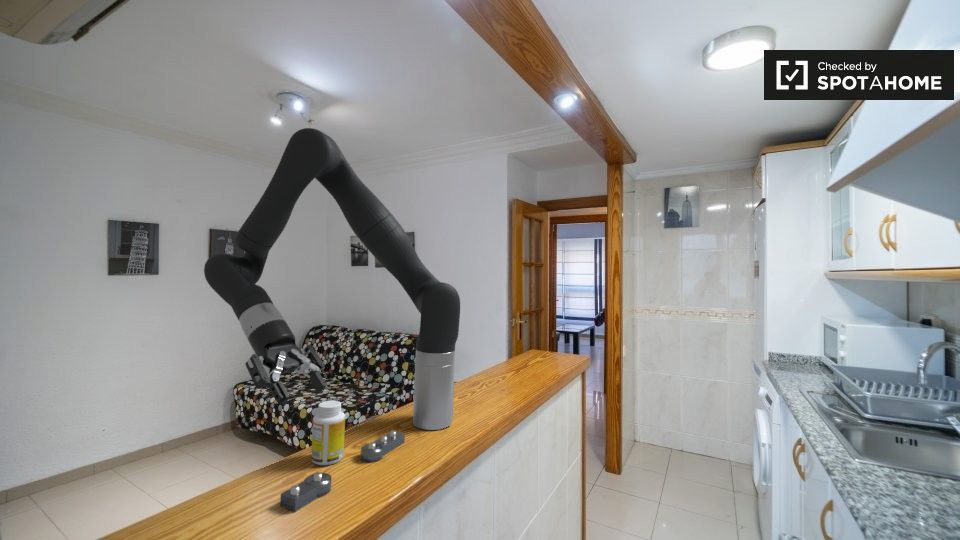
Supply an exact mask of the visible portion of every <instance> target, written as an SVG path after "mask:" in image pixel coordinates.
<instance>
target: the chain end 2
mask: <svg viewBox="0 0 960 540" xmlns="http://www.w3.org/2000/svg"><path fill="white" fill-rule="evenodd" d="M405 436H406V433H403V432H399V431H397V430H390V432H388V433H386V434H385V435H381V436H380V438H377V439H375V440H374V441H371V442H369V443H366V444H365V445H362V446H361V448H360V460H361V461H362V463H363V462H364V463H376V462H379V461H381V460H382V459H383V458H384V456H386V455H387V454H388V453H390V452H392V451H393V450H394V449H397V448H398V447H399V446H401V445H403V444H405V442H406V441H405V439H406V438H405Z"/></svg>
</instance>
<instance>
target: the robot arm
mask: <svg viewBox="0 0 960 540" xmlns="http://www.w3.org/2000/svg"><path fill="white" fill-rule="evenodd" d="M314 179H315V180H317V181H318V183H320V185H322V186H323V188H324V189H325V190H326V191H327V192H328V193H329V194H330V195H331V196H332V198H333V199H334V200H335V202H336V203H337V205H338V207H339V209H340V210H341V212H342V214H343V216H344V218H345V219H346V222H347V223H348V225H349V227H350V229H351V230H352V232H353V233H354V234H355V236H356V237H357V238H358V239H359V241H360V242H361V243H362V245H364V247H365V248H366V249H367V250H368V251H369V253H370V254H372V256H373V257H374V258H375V259H376V261H378V262H379V263H380V264H381V266H383V267H384V268H385V269H386V270H387V272H389V273H390V274H391V276H393V278H395V279H396V280H397V282H398V283H399V284H400V286H402V288H403V290H404V291H405V293H406V294H407V296H408V297H409V299H410V300H411V301H412V303H413V304H414V306H415V308H416V309H417V311H418V313H420V323H419V332H418V336H417V338H416V341H415V358H414V359H415V361H414V362H415V363H414V364H415V365H414V366H415V367H414V384H413V385H414V389H413V405H412V406H413V407H412V408H413V409H412V410H413V411H412V425H413V426H414V427H416V428H417V429H421V430H426V431H437V430H438V431H439V430H443V428H444V429H446V427H447V428H448V426H449V427H451V425H452V424H453V422H452V421H453V419H454V418H453V417H454V399H455V398H454V397H455V362H456V361H455V358H456V357H455V355H456V354H455V353H456V343H457V341H458V338H459V331H460V330H459V329H460V316H461V299H460V298H461V297H460V294H459V292H458V291H457V289H456V288H455V287H454V286H453V285H452V284H449V283H446V282H442V281H440V280H439V279H437V278H436V276H435V275H434V274H433V273H431V271H430V270H429V269H428V268H427V267H426V266H425V264H424V263H423V261H421V259H420V258H419V255H418V254H417V252H416V250H415V248H414V245H413V243H412V240H411V239H410V238H409V236H408V235H407V233H406V231H405V230H404V228H403V226H402V225H401V223H399V221H398V220H397V219H396V218H395V216H394V215H393V214H392V213H391V211H389V209H388V208H387V207H386V206H385V205H384V203H383V202H382V201H381V200H380V199H379V198H378V197H377V196H376V195H375V194H374V193H373V192H372V191H371V189H370V188H368V186H367V185H365V183H364V182H363V181H362V180H361V178H360V177H359V176H358V175H357V173H356V172H355V170H354V169H353V168H352V166H351V164H350V163H349V161H348V160H347V159H346V156H344V154H343V152H342V151H341V149H340V147H339V146H338V144H337V142H336V141H335V140H334V139H333V138H332V137H330V136H329V135H327V134H326V133H325V132H323V131H322V130H319V129H317V128H312V127H307V128H306V127H305V128H300V129H299V130H296V132H294V133H293V134H292V135H291V137H290V139H289V140H288V142H287V144H286V146H285V149H284V151H283V153H282V155H281V158H280V160H279V163H278V165H277V167H276V169H275V172H274V173H273V175H272V178H271V179H270V181H269V183H268V185H267V187H266V189H265V190H264V192H263V194H262V195H261V197H260V198H259V200H258V202H256V205H254V207H253V209H252V211H251V212H250V213H249V215H248V217H247V218H245V219H246V220H244V222H243V224H242V225H241V227H240V228H239V230H238V231H237V232H236V234H235V236H234V243H235V244H236V246H237V247H238V248H239V249H241V250H242V251H244V253H243V254H242V256H238V255H233V254H228V253H216V254H213V255H211V256H210V257H209V258H208V259H207V260H206V262H205V263H204V267H203V273H204V278H205V280H206V282H207V284H208V285H209V287H210V288H211V289H212V290H213V291H214V292H215V293H216V294H217V295H218V296H219V297H220V298H221V299H222V300H223V301H224V303H227V305H229V306H230V307H231V309H232V310H233V311H232V312H233V313H234V314H235V317H236V318H237V320H238V322H239V324H240V327H241V330H242V332H243V334H244V335H245V337H246V339H247V341H248V342H249V344H250V346H251V348H252V350H253V352H254V353H253V354H251V356H250V357H249V358H248V359H247V361H246V362H245V363H244V364H245V367H246V370H247V372H248V373H249V375H250V378H251V380H252V382H253V385H254V387H255V388H256V389H262V388H266V389H267V390H269V391H270V392H271V394H272V396H273V398H274V400H275V401H276V402H277V403H279V405H284V404H286V403H287V402H288V401H290V397H291V396H290V394H289V392H288V390H287V388H286V387H285V385H284V384H283V382H282V380H280V377H281V376H282V375H284V374H287V373H293V372H295V373H297V374H299V375H301V374H302V375H304V376H306V377H307V378H308V380H309V381H310V383H311V385H312V387H313V388H314V390H315V392H316V393H317V394H320V393H322V392H324V390H325V389H326V387H327V386H326V385H327V383H326V381H325V379H324V378H323V376H322V375H321V373H320V372H321V370H322V369H324V367H325V363H324V361H323V360H322V358H321V357H320V355H319V354H318V353H317V351H316V349H315V348H314V347H313V345H311V344H308V345H306V347H303V348H300V347H299V346H298V345H297V343H296V337H295V335H294V333H293V332H292V329H291V328H290V326H289V325H288V323H287V320H286V319H285V318H284V316H283V315H282V313H281V312H280V310H279V309H278V308H277V307H276V305H275V304H274V302H273V300H272V299H271V297H270V296H269V294H268V292H267V291H266V290H265V288H264V287H262V286H261V285H258V284H257V283H258V282H259V280H260V279H261V277H262V274H263V272H264V268H265V265H266V262H267V260H268V256H269V252H270V250H271V249H273V246H274V244H275V243H276V242H277V241H278V239H279V237H280V236H281V234H282V233H283V231H284V229H285V228H286V226H287V224H288V222H289V221H290V218H291V215H292V213H293V211H294V208H295V206H296V204H297V202H298V200H299V198H300V196H301V195H302V194H303V192H304V191H305V189H306V188H307V187H308V185H310V184H311V183H312V182H313V180H314ZM301 363H303V364H301ZM301 365H302V366H301ZM265 367H266V368H268V372H267V371H266V368H265ZM452 418H453V419H452ZM451 423H452V424H451Z"/></svg>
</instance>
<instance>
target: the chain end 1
mask: <svg viewBox="0 0 960 540" xmlns="http://www.w3.org/2000/svg"><path fill="white" fill-rule="evenodd" d="M331 491H332V475H331V474H329V473H326V472H319V471H318V472H315V473H312V474H310V475H307V477H305V479H304V481H302V482H299V483H297V484H295V485H292V486H290V488H289V489H287V490H286V491H283V492H282V493H280V498H279V499H280V502H279V503H280V504H279V507H280V508H283V509H285V510H287V511H291V512H293V513H296V512H298V511H299V510H301V509H302V508H303V507H306V506H307V505H309V504H310V503H311V502H313V501H315V500H316V499H319V498H321V497H324V496H327V495H328V494H329V493H330V492H331Z"/></svg>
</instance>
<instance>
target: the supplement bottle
mask: <svg viewBox="0 0 960 540" xmlns="http://www.w3.org/2000/svg"><path fill="white" fill-rule="evenodd" d="M345 427H346V414H345V413H344V412H343V411H342V403H341V401H338V400H326V401H323V402H320V403H319V404H318V409H317V413H316V414H315V415H314V416H313V418H312V437H311V439H312V440H311V462H312V463H313V464H315V465H317V466H318V465H319V466H330V465H335V464H337V463H338V462H340V461H341V460H342V459H343V457H344V453H345V452H344V451H345V431H346V429H345Z"/></svg>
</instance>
